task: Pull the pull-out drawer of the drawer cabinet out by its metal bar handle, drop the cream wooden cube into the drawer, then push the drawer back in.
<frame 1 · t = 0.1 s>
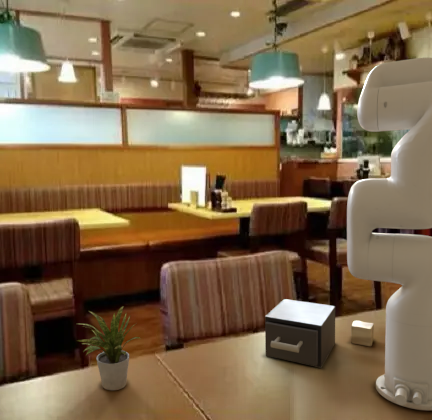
hand: (425, 210, 121), 31 cm above the table, tool pointing down, fingers open, 9 cm apart
drawer cabinet: (301, 349, 109), on the table
cube: (362, 341, 112), on the table
house plant: (113, 382, 97), on the table
pull-out drawer: (295, 337, 104), point 5 cm above the table, slide at 0.5 cm
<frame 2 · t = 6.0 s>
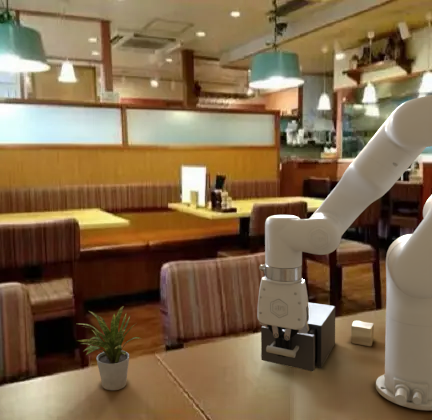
hand: (283, 354, 97), 4 cm above the table, tool pointing down, fingers closed
pull-out drawer: (292, 341, 102), point 5 cm above the table, slide at 3.3 cm, touching gripper
everything else where it was.
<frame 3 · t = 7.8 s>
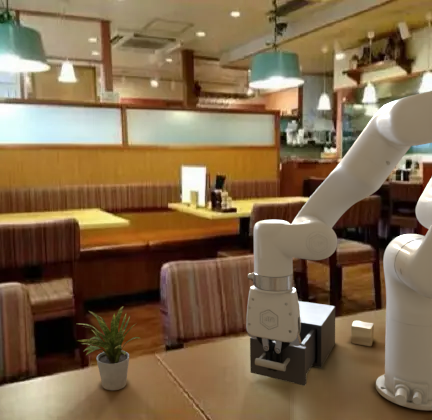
hand: (274, 368, 91), 4 cm above the table, tool pointing down, fingers closed
pull-out drawer: (283, 353, 96), point 5 cm above the table, slide at 10.2 cm
everything else where it was.
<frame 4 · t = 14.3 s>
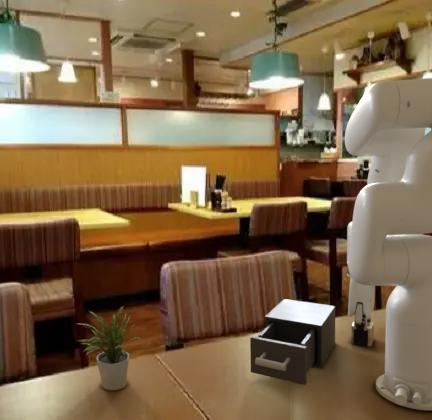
hand: (362, 340, 112), 0 cm above the table, tool pointing down, fingers closed on cube, 4 cm apart
cube: (362, 341, 112), on the table, touching gripper
everything else where it was.
when the fingers open (8 cm above the table, at t = 21.8 s): cube drops 5 cm, resting on pull-out drawer.
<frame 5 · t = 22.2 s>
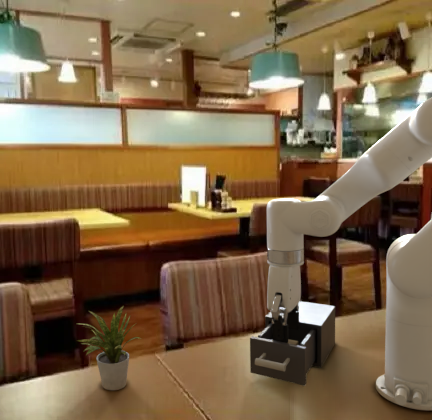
hand: (286, 334, 97), 9 cm above the table, tool pointing down, fingers open, 7 cm apart
cube: (285, 362, 98), point 2 cm above the table, touching pull-out drawer
pull-out drawer: (283, 353, 96), point 5 cm above the table, slide at 10.2 cm, touching cube
everything else where it was.
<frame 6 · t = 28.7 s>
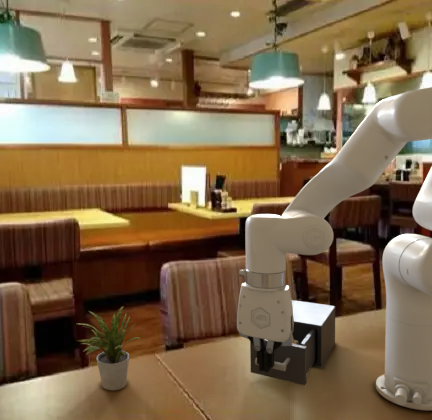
hand: (265, 368, 88), 6 cm above the table, tool pointing down, fingers closed
pull-out drawer: (283, 352, 96), point 5 cm above the table, slide at 10.1 cm, touching cube, gripper
everything else where it was.
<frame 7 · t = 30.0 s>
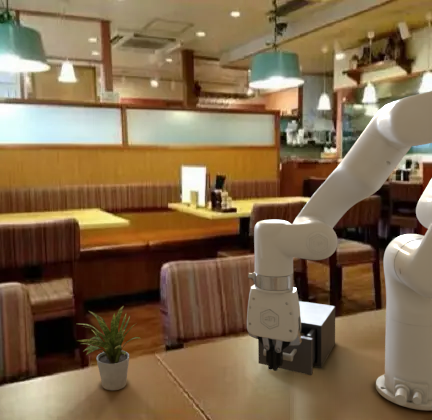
hand: (274, 367, 92), 4 cm above the table, tool pointing down, fingers closed
cube: (291, 353, 102), point 2 cm above the table, touching pull-out drawer
pull-out drawer: (289, 344, 100), point 5 cm above the table, slide at 5.2 cm, touching cube, gripper
everything else where it was.
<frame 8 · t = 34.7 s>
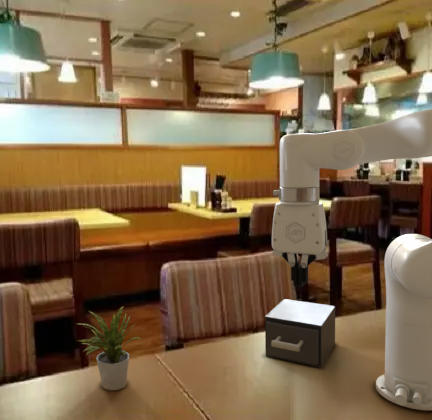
hand: (299, 284, 91), 21 cm above the table, tool pointing down, fingers closed
cube: (298, 345, 106), point 2 cm above the table, touching pull-out drawer
pull-out drawer: (296, 336, 105), point 5 cm above the table, slide at 0.0 cm, touching cube
everything else where it was.
at the end: pull-out drawer pulled out 10.3 cm at the most during the clip and back in by the end; cube inside the target area in the drawer cabinet (2.4 cm from its centre), point 2.1 cm above the drawer cabinet's base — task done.
